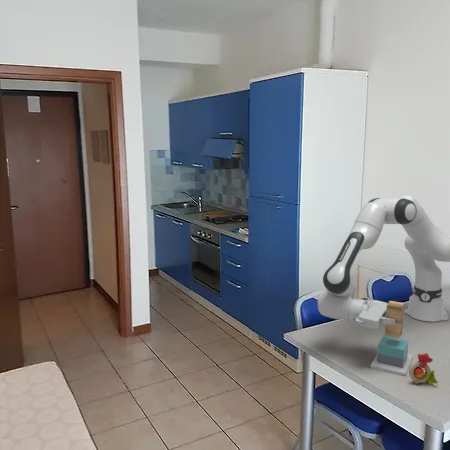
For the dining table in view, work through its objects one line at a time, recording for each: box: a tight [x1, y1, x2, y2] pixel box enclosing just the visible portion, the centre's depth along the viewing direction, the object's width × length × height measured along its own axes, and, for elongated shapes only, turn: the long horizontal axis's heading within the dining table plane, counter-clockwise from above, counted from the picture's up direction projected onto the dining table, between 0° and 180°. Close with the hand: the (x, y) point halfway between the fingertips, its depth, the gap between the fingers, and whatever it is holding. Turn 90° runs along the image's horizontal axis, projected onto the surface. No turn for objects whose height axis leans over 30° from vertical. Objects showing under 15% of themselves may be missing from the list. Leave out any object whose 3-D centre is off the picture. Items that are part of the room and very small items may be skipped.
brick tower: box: [370, 335, 414, 377], centre depth 173 cm, size 16×12×8 cm
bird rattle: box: [408, 353, 439, 386], centre depth 158 cm, size 6×11×9 cm
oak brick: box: [384, 300, 405, 339], centre depth 171 cm, size 5×5×12 cm
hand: (397, 318), depth 170 cm, fingers closed on oak brick, 5 cm apart
